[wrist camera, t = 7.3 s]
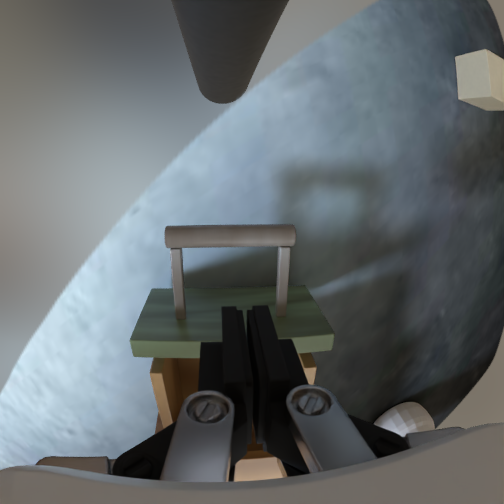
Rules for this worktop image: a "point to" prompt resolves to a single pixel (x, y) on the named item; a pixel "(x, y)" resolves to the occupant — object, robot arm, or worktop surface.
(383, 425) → the bottle
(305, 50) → the worktop surface
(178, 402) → the drawer
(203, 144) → the worktop surface
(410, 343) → the worktop surface
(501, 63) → the block
